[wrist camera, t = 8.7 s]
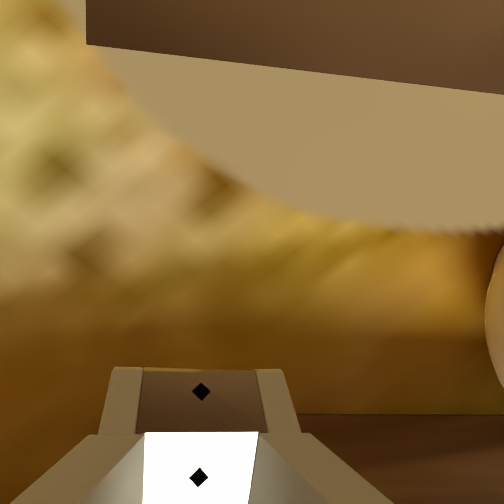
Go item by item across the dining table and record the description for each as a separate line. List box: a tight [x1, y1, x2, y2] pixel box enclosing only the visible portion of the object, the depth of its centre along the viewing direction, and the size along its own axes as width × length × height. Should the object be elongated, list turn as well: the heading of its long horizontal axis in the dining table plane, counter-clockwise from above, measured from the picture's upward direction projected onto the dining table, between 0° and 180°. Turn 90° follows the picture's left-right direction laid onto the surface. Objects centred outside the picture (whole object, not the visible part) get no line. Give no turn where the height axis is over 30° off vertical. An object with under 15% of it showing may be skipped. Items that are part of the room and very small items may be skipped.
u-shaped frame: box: [86, 0, 504, 504], centre depth 16 cm, size 17×24×5 cm
